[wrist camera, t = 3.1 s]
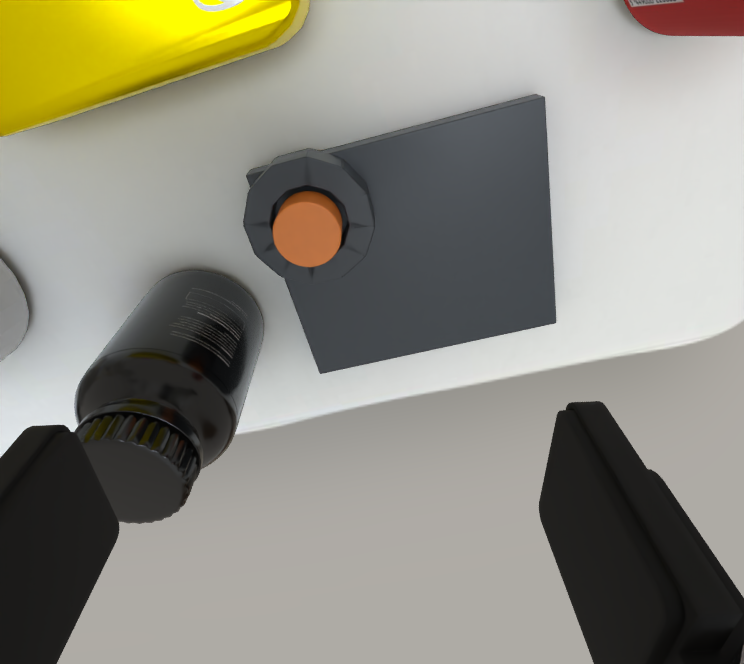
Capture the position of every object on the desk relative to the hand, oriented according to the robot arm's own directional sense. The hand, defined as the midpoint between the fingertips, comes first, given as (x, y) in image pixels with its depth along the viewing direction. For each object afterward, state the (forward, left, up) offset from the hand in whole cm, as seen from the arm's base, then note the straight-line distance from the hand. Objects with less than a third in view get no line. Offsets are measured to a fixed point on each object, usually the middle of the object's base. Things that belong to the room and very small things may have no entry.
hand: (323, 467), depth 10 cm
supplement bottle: (-7, -8, -18) cm, 21 cm away
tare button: (-1, 0, -15) cm, 15 cm away
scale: (+4, -2, -18) cm, 18 cm away
